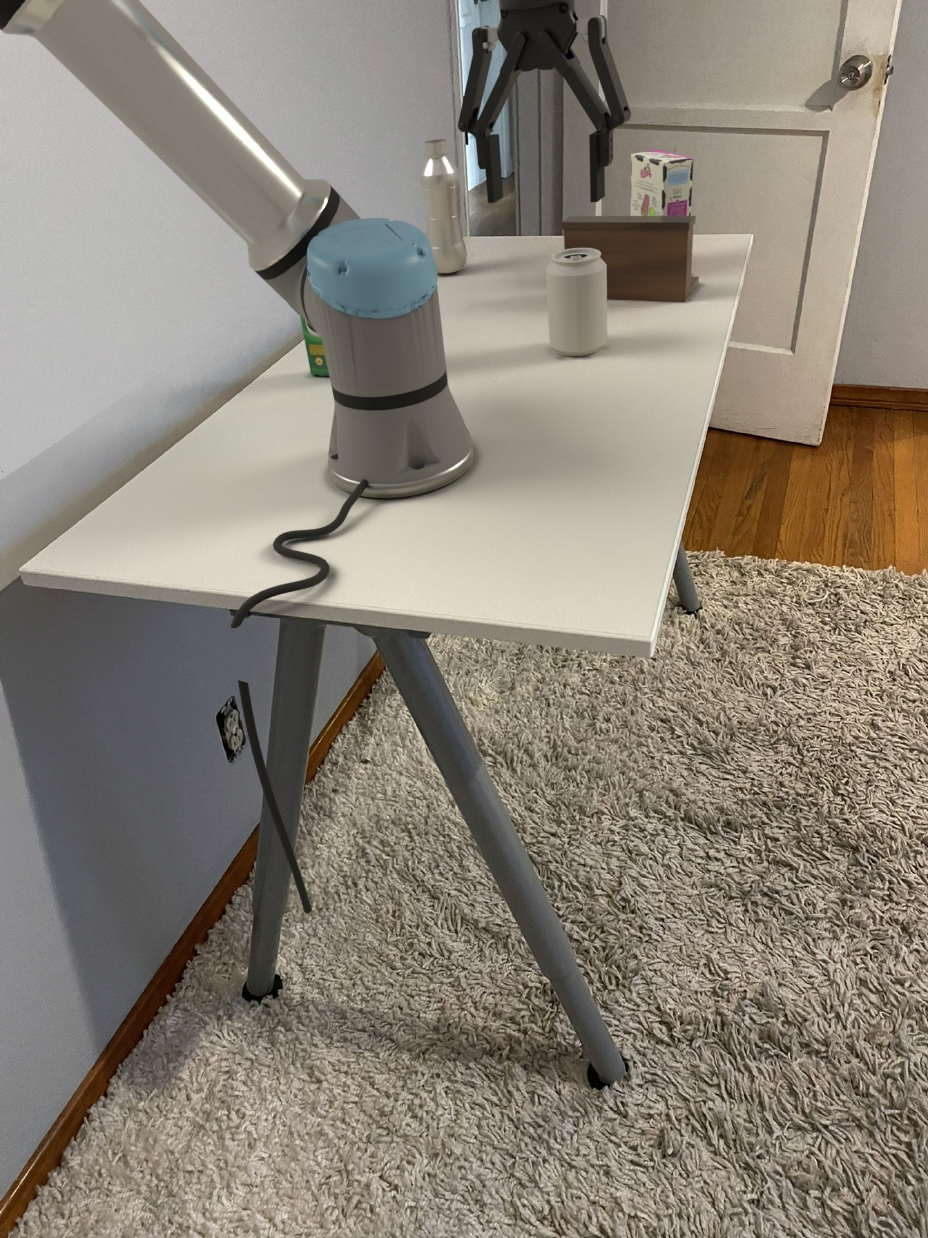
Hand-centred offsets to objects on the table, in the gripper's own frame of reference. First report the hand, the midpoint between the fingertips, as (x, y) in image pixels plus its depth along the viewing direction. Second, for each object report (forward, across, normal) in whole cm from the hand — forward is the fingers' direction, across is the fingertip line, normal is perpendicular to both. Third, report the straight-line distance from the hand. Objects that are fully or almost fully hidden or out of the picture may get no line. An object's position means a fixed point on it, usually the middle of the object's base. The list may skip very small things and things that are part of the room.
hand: (545, 199), depth 102 cm
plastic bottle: (+20, +34, -40) cm, 56 cm away
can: (+20, 0, -9) cm, 22 cm away
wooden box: (+20, 0, -33) cm, 38 cm away
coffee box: (+20, +28, +5) cm, 35 cm away
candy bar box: (+20, -1, -44) cm, 48 cm away
